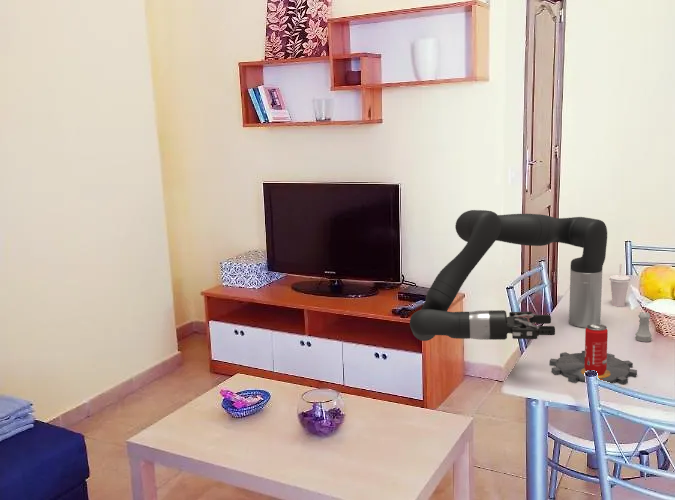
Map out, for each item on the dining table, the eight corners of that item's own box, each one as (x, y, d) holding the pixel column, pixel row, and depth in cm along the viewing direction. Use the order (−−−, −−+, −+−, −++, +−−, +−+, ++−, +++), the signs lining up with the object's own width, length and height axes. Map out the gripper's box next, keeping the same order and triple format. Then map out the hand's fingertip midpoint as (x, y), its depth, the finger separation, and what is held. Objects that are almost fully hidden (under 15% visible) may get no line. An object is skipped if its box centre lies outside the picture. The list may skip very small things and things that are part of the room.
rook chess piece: (648, 337, 199) (650, 310, 197) (654, 342, 194) (655, 315, 193) (632, 337, 199) (634, 311, 197) (637, 342, 195) (639, 315, 193)
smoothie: (630, 303, 230) (632, 263, 227) (626, 308, 225) (628, 267, 222) (610, 301, 234) (612, 261, 231) (606, 306, 228) (608, 265, 225)
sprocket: (546, 354, 189) (546, 345, 189) (625, 355, 185) (626, 346, 185) (555, 384, 169) (555, 375, 168) (644, 387, 165) (645, 377, 164)
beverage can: (596, 377, 168) (597, 331, 166) (579, 371, 173) (581, 326, 171) (610, 373, 171) (612, 327, 168) (594, 366, 175) (595, 322, 173)
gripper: (488, 320, 169) (556, 319, 166) (486, 302, 183) (549, 302, 180) (488, 348, 171) (556, 348, 168) (487, 329, 184) (549, 329, 181)
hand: (552, 324), depth 174 cm, fingers open, 8 cm apart
